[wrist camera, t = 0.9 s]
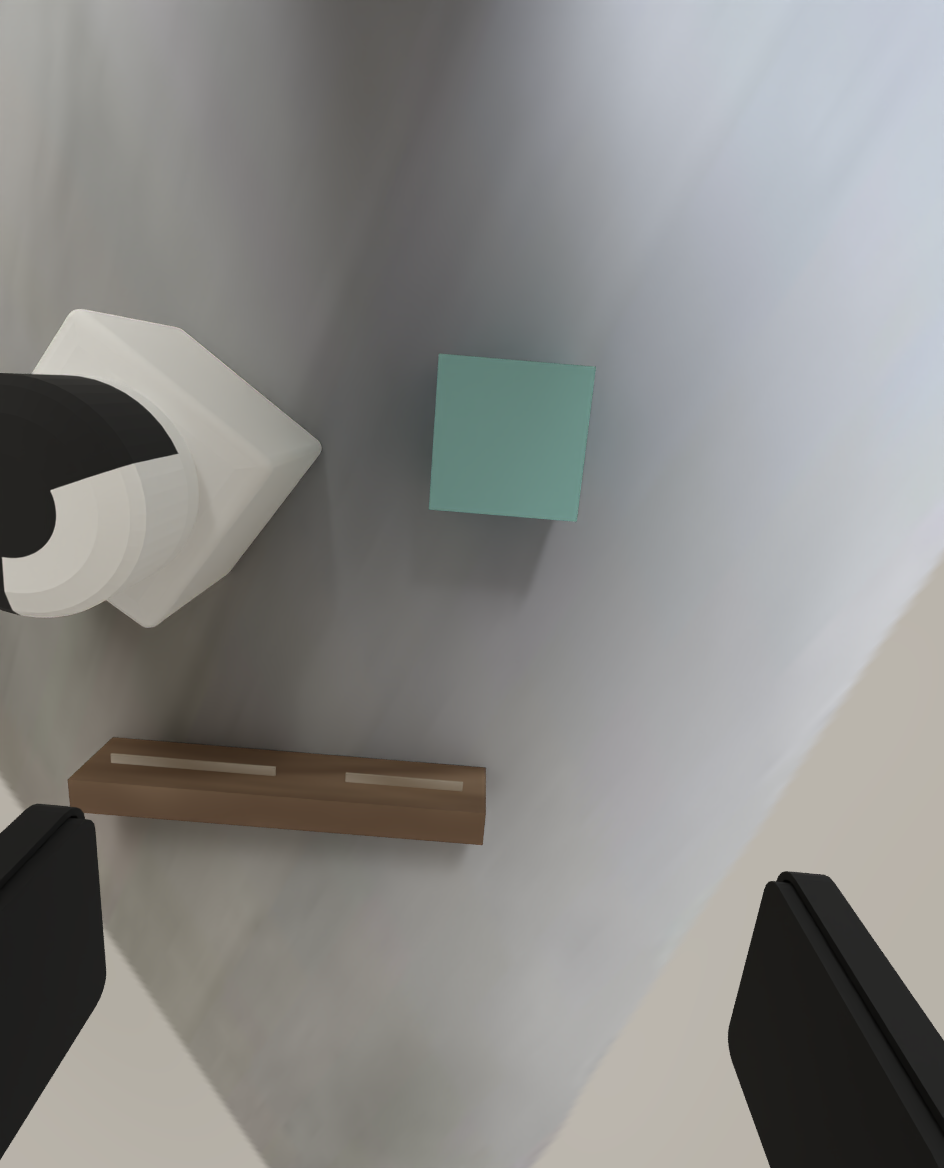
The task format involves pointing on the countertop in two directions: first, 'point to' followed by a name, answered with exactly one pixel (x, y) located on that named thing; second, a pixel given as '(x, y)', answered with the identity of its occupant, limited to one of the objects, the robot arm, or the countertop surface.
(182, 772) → the walnut fence
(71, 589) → the medicine bottle
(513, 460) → the teal block
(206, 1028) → the countertop surface
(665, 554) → the countertop surface
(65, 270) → the countertop surface
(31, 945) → the robot arm
